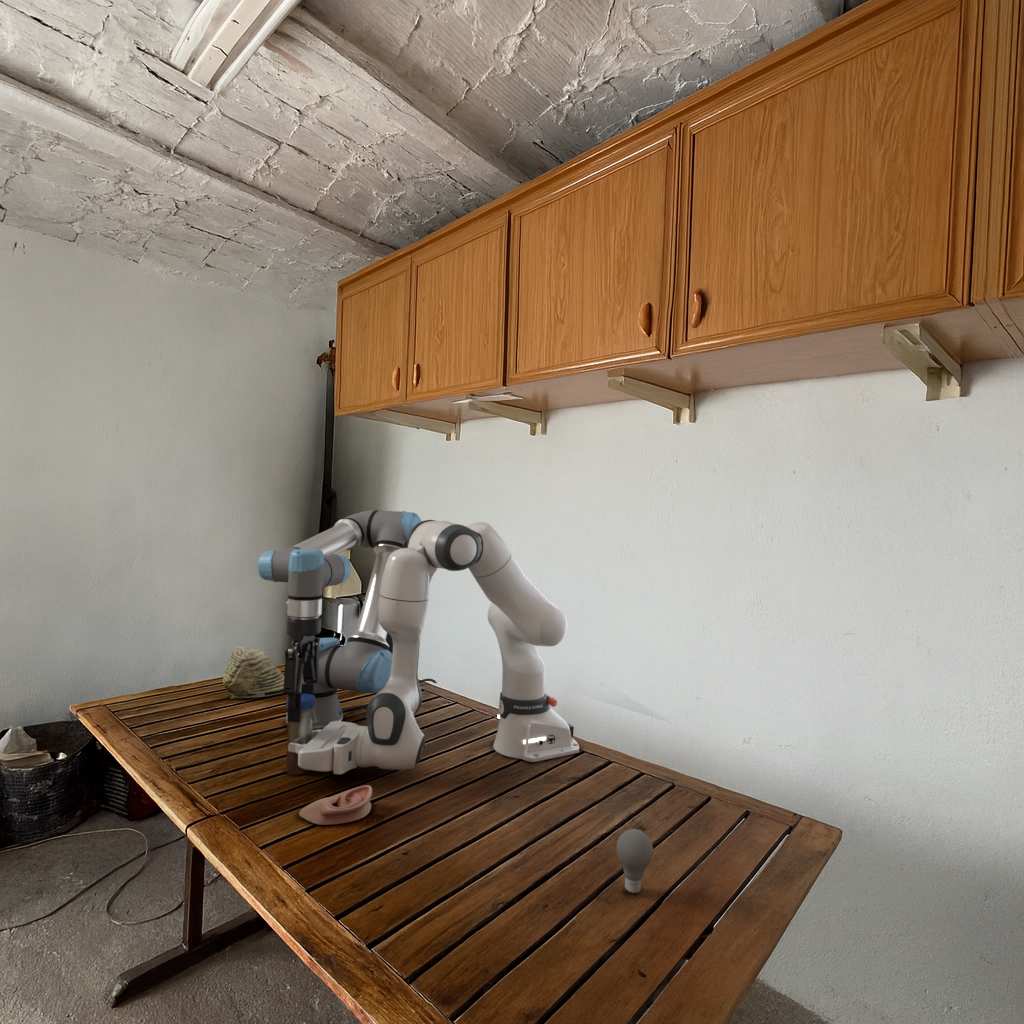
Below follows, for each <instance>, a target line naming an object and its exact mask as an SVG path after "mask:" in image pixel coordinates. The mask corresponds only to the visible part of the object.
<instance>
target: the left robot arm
mask: <svg viewBox="0 0 1024 1024" xmlns="http://www.w3.org/2000/svg"><path fill="white" fill-rule="evenodd" d="M421 521H422V518H421V517H420V516H419V514H418V513H415V512H411V511H406V510H402V511H397V510H396V511H395V510H379V509H369V510H362V511H360V512H357V513H353V514H350V515H348V516H346V517H343V518H341V519H339V520H338V521H336V522H335V523H334V525H333V526H332V527H330V528H328V529H326V530H324V531H322V532H320V533H317V534H315V535H314V536H312V537H310V538H307V539H305V540H303V541H301V542H299V543H296V544H294V545H292V546H290V547H288V548H286V549H284V550H281V551H279V550H267V551H264V552H263V553H262V554H261V555H260V557H259V559H258V561H257V572H258V575H259V577H260V578H261V579H262V580H264V581H269V582H270V581H271V582H273V583H288V589H287V601H286V602H285V605H287V608H286V609H287V611H286V612H287V614H286V615H287V616H288V617H287V619H286V634H287V635H289V636H291V637H292V641H291V646H290V648H285V650H284V658H285V659H284V660H285V661H284V674H283V676H284V689H283V694H286V695H287V698H288V709H287V713H286V715H285V726H286V728H288V722H297V723H299V722H300V718H301V694H311V695H314V696H315V706H314V707H313V724H312V731H313V730H319V729H320V730H322V729H324V728H325V727H326V726H327V725H328V724H329V723H330V722H332V721H343V722H344V714H343V712H345V711H351V710H355V709H364V708H367V707H368V704H369V703H367V704H365V703H364V704H359V705H351V706H346V707H342V706H341V702H340V699H339V695H338V690H342V691H350V692H358V693H360V694H365V693H366V694H377V693H378V692H379V691H381V690H382V689H383V688H384V686H385V685H386V683H387V682H388V680H389V678H390V675H391V667H392V654H393V653H392V652H391V651H390V650H389V649H390V645H389V643H388V642H387V636H388V633H387V632H386V631H385V630H384V629H383V628H382V627H381V625H380V623H379V615H378V603H379V595H380V587H381V582H382V577H383V573H384V569H385V566H386V563H387V560H388V557H389V556H390V554H391V553H392V552H394V551H395V550H398V549H401V548H403V544H404V542H405V541H406V539H407V536H408V534H409V532H410V530H411V529H412V528H413V527H414V526H415V525H416V524H417V523H419V522H421ZM357 548H368V549H369V548H370V549H373V552H374V553H375V556H376V558H375V561H374V564H373V569H372V572H371V575H370V579H369V582H368V585H367V589H366V592H365V597H364V601H363V605H362V607H361V611H360V615H359V618H358V622H357V625H356V629H355V632H354V633H353V634H351V635H350V636H348V637H347V641H346V644H345V645H340V644H341V641H340V639H339V638H337V637H316V636H317V635H320V633H321V631H322V618H321V617H320V616H321V615H322V614H323V588H327V587H333V586H338V585H340V584H343V583H345V582H346V581H348V579H349V578H350V577H351V574H352V564H351V562H350V560H349V559H348V557H346V556H345V555H344V554H341V553H342V552H343V553H344V552H345V551H352V550H355V549H357ZM404 548H405V547H404ZM424 682H432V683H433V684H437V683H438V681H436V680H435V679H433V678H423V679H420V680H419V684H423V683H424Z"/></svg>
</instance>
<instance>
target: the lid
mask: <svg viewBox="0 0 1024 1024" xmlns="http://www.w3.org/2000/svg"><path fill="white" fill-rule="evenodd" d="M314 706H315V696H314V695H311V694H301V711H304V710H309V709H312V708H313V707H314ZM285 707H286V709H287V710H288V697H286V705H285Z"/></svg>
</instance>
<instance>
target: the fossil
mask: <svg viewBox="0 0 1024 1024" xmlns="http://www.w3.org/2000/svg"><path fill="white" fill-rule="evenodd" d="M222 676H223V677H222V685H223V687H224V688H225V690H226V691H228V693H229V698H230V699H250V698H264V697H271V696H275V695H281V694H284V692H283V689H284V674H283V673H282V672H281V669H279V668H278V667H277V665H276V663H275V662H274V660H273V659H272V658H271V657H270V656H269V655H268V654H267V653H266V652H265V650H264V649H263V648H260V647H258V648H251V647H247V646H246V647H245V646H238V647H237V648H236V649H235V650H233V651H232V653H231V656H230V657H229V659H228V660H227V663H226V666H225V668H224V671H223V675H222Z"/></svg>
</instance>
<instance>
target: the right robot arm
mask: <svg viewBox="0 0 1024 1024" xmlns="http://www.w3.org/2000/svg"><path fill="white" fill-rule="evenodd" d="M404 547H405V548H404ZM438 569H442V570H446V571H450V572H459V571H464V570H467V569H468V570H469V571H470V573H471V575H472V577H473V578H474V580H475V581H476V583H477V584H478V586H479V588H480V590H481V591H482V592H483V594H484V596H485V597H486V598H487V600H488V601H490V602H491V603H490V604H489V606H488V610H487V621H488V624H489V626H490V627H491V628H492V630H493V632H494V634H495V637H496V639H497V643H498V647H499V652H500V658H501V666H502V673H501V691H500V693H499V701H498V713H499V714H497V719H498V727H497V731H496V735H495V739H494V742H493V744H492V747H493V748H492V749H493V750H494V751H495V752H496V753H498V754H499V755H502V756H506V757H508V758H512V759H520V760H523V761H526V762H529V763H536V762H541V761H547V760H551V759H555V758H561V757H565V756H566V757H567V756H570V755H574V754H578V753H580V745H579V743H578V741H577V740H576V739H575V738H574V728H575V727H574V726H573V725H572V724H570V723H569V722H567V721H566V720H565V719H564V718H563V717H562V716H561V715H559V714H558V713H557V712H556V711H555V710H553V709H552V708H555V707H556V706H558V701H557V699H556V698H554V696H553V697H552V696H550V695H548V694H547V693H545V685H546V665H545V662H544V660H543V659H542V658H541V655H540V654H539V652H538V650H537V647H556V646H558V645H559V644H560V643H561V642H562V641H563V640H564V639H565V637H566V634H567V631H568V619H567V616H566V614H565V613H564V611H563V610H561V609H560V608H559V607H557V606H556V605H555V604H553V603H552V602H551V601H549V599H547V598H546V596H545V595H544V594H543V593H542V592H541V591H540V589H538V587H536V586H535V584H534V583H532V581H530V579H529V578H528V577H527V576H526V573H524V571H523V570H522V568H521V566H520V565H519V564H518V562H517V560H516V559H515V557H514V555H513V553H512V552H511V550H510V548H509V547H508V545H507V543H506V542H505V541H504V539H503V538H502V537H501V536H500V534H499V533H498V532H497V531H496V530H495V529H494V527H493V526H492V525H490V524H489V523H487V522H484V521H476V522H474V523H473V522H472V523H471V524H469V525H467V526H466V525H463V524H459V523H455V522H452V521H448V520H435V519H426V520H421V522H419V523H417V524H416V525H415V526H414V527H413V528H412V529H411V530H410V532H409V534H408V536H407V539H406V541H405V542H404V544H403V548H401V549H398V550H395V551H394V552H392V553H391V554H390V556H389V557H388V560H387V563H386V566H385V569H384V573H383V577H382V582H381V587H380V595H379V603H378V615H379V623H380V625H381V627H382V628H383V629H384V630H385V631H386V632H387V634H388V635H389V636H390V637H391V639H392V641H391V642H392V653H391V654H392V667H391V675H390V677H389V680H388V682H387V683H386V685H385V686H384V687H383V688H382V689H381V690H380V691H378V692H376V693H375V695H374V696H373V697H372V698H371V699H370V700H369V703H367V704H368V707H366V724H367V725H358V724H357V723H354V722H349V721H344V720H343V721H332V722H330V723H329V724H328V725H327V726H326V727H325V728H324V729H322V730H320V729H319V730H313V731H312V740H311V741H309V742H308V743H307V744H303V745H301V744H298V742H291V743H290V744H289V745H288V751H289V752H295V753H297V754H298V766H299V767H300V768H302V769H307V770H310V771H315V772H331V771H332V773H333V774H334V775H343V774H345V773H346V772H348V771H350V770H353V769H357V768H369V767H375V768H378V769H381V770H390V771H391V770H393V771H394V770H395V771H398V770H399V771H400V770H401V771H403V770H404V771H405V770H411V769H415V768H416V767H417V766H418V764H419V763H420V761H421V759H422V757H423V754H424V752H425V747H426V742H427V740H426V735H425V734H424V733H423V731H422V729H420V727H419V725H418V723H417V720H416V717H415V715H416V714H417V713H418V712H419V710H420V709H421V707H422V704H423V691H422V688H421V683H419V681H420V680H419V676H418V675H419V673H418V672H419V671H418V669H419V659H420V658H419V657H420V645H421V637H422V631H423V628H424V624H425V619H426V616H427V610H428V605H429V597H430V584H431V581H432V579H433V576H434V574H435V573H436V572H437V571H438ZM571 737H572V738H571Z"/></svg>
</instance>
